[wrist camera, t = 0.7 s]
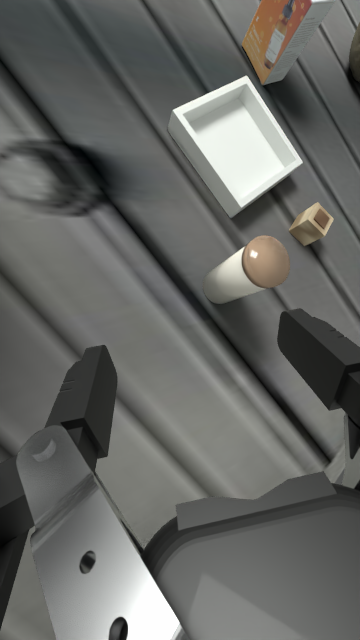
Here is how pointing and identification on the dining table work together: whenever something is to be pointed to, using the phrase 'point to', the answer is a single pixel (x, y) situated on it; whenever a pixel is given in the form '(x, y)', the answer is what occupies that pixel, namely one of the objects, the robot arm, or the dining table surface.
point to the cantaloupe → (355, 55)
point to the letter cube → (311, 224)
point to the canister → (248, 271)
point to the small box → (281, 34)
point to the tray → (234, 144)
